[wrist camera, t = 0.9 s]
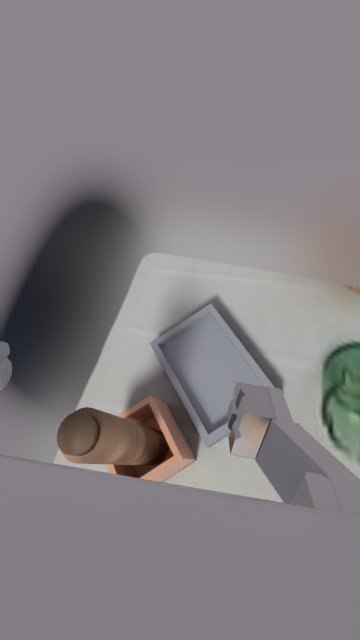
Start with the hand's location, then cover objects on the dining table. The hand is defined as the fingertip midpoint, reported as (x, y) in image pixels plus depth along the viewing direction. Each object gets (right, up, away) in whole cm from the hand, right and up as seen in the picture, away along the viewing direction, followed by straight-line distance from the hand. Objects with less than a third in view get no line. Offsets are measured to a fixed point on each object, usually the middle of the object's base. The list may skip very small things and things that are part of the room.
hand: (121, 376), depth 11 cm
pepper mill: (-2, -16, +32) cm, 36 cm away
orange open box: (-1, -17, +33) cm, 37 cm away
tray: (+7, -6, +35) cm, 37 cm away
